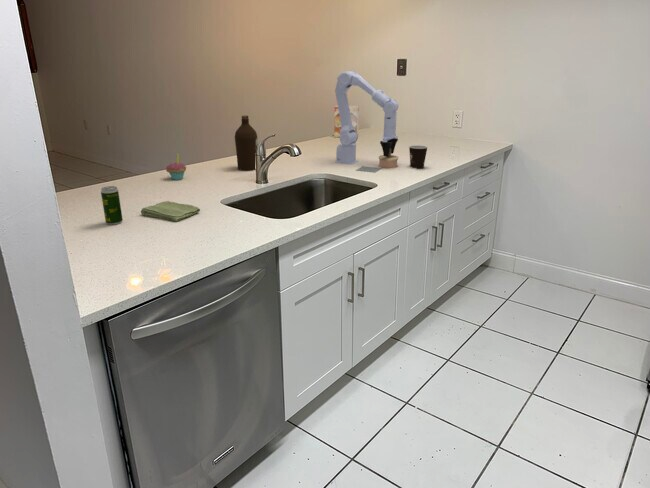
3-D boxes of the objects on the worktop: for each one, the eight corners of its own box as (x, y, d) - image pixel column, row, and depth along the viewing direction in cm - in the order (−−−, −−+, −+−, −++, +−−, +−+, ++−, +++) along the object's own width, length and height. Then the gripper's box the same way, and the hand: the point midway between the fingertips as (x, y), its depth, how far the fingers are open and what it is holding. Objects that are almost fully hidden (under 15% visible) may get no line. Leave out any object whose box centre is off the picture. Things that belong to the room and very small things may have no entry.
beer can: (117, 219, 175) (112, 185, 170) (126, 222, 172) (121, 187, 167) (102, 223, 171) (97, 188, 167) (111, 226, 168) (105, 191, 163)
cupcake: (190, 177, 230) (188, 150, 226) (179, 181, 223) (177, 154, 218) (174, 175, 233) (171, 149, 228) (163, 180, 225) (160, 153, 221)
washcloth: (177, 224, 171) (176, 215, 170) (139, 216, 179) (137, 207, 178) (203, 213, 182) (202, 204, 181) (165, 206, 190) (164, 198, 189)
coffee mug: (425, 169, 245) (427, 149, 241) (407, 168, 246) (408, 148, 243) (426, 164, 255) (427, 144, 252) (408, 163, 257) (410, 144, 253)
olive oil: (239, 171, 240) (235, 117, 231) (234, 167, 249) (231, 114, 240) (261, 170, 243) (258, 116, 234) (256, 165, 252) (253, 113, 243)
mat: (355, 171, 241) (355, 170, 241) (362, 167, 250) (362, 166, 250) (375, 173, 238) (375, 172, 237) (382, 169, 246) (382, 168, 246)
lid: (376, 159, 247) (376, 149, 245) (381, 156, 255) (381, 146, 253) (396, 161, 244) (396, 151, 242) (400, 157, 252) (400, 147, 250)
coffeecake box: (334, 137, 330) (334, 106, 323) (335, 135, 336) (335, 105, 329) (357, 138, 327) (357, 106, 320) (358, 136, 334) (359, 105, 327)
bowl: (376, 167, 249) (377, 159, 247) (382, 164, 256) (382, 156, 255) (393, 169, 245) (394, 161, 244) (398, 165, 253) (399, 157, 251)
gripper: (393, 129, 236) (391, 158, 241) (402, 125, 248) (400, 152, 253) (378, 128, 239) (377, 156, 244) (388, 124, 251) (387, 151, 256)
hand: (388, 154), depth 249 cm, fingers open, 7 cm apart
